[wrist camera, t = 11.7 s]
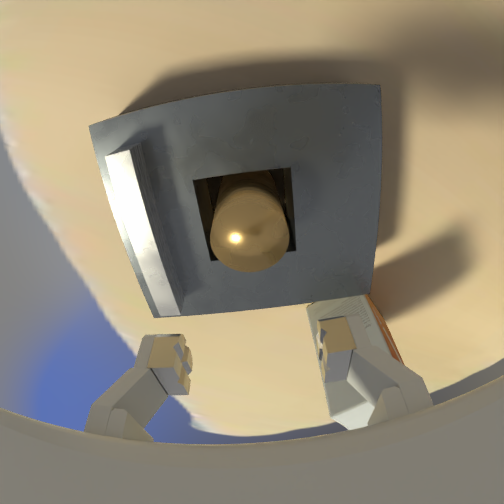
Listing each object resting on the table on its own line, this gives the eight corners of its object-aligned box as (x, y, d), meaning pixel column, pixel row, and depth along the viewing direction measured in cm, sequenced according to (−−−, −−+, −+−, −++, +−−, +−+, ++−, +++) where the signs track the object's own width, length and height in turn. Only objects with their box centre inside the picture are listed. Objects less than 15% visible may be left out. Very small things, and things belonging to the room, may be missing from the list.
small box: (383, 316, 32) (423, 410, 21) (338, 342, 34) (363, 439, 23) (356, 274, 28) (404, 383, 17) (303, 306, 30) (327, 419, 19)
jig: (352, 83, 19) (395, 86, 13) (352, 259, 27) (377, 310, 21) (118, 115, 19) (73, 131, 13) (165, 281, 28) (149, 335, 22)
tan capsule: (272, 160, 22) (286, 198, 15) (277, 211, 24) (291, 267, 18) (215, 167, 22) (203, 209, 15) (224, 217, 25) (218, 276, 18)
